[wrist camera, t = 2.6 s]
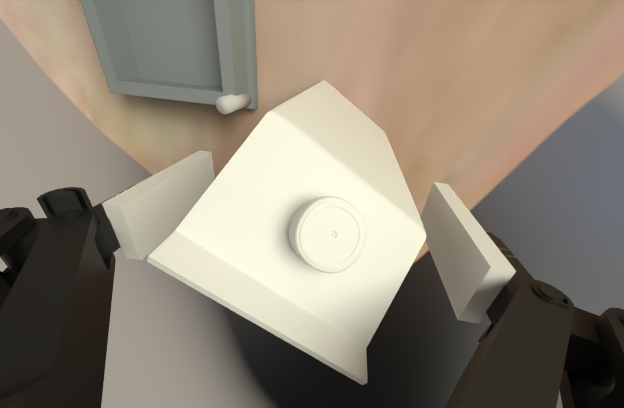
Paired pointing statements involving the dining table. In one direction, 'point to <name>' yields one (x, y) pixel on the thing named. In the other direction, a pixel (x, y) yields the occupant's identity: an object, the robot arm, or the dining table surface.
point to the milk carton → (304, 230)
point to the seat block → (178, 49)
